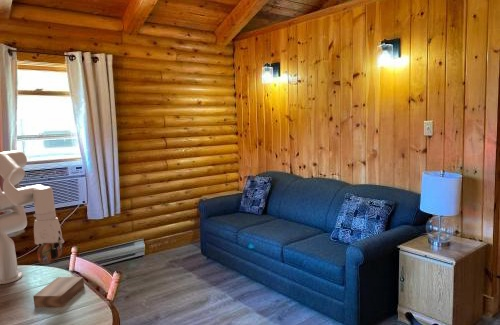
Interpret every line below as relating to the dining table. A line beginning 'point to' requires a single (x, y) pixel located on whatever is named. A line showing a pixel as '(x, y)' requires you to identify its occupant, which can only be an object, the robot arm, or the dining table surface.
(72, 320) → the dining table surface
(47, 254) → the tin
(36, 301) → the walnut block
